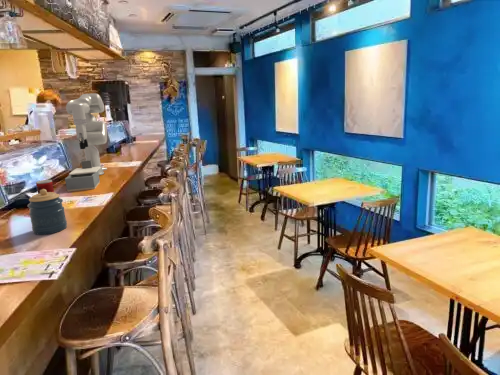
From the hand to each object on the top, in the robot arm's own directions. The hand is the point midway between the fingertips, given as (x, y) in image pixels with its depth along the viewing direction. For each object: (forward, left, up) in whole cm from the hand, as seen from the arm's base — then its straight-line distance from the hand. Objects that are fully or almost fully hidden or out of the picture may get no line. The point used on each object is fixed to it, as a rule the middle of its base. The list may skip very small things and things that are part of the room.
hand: (84, 147), depth 249 cm
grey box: (+13, +13, -23) cm, 30 cm away
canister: (+72, +75, -23) cm, 107 cm away
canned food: (+43, +23, -23) cm, 54 cm away
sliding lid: (+6, +6, -14) cm, 17 cm away
